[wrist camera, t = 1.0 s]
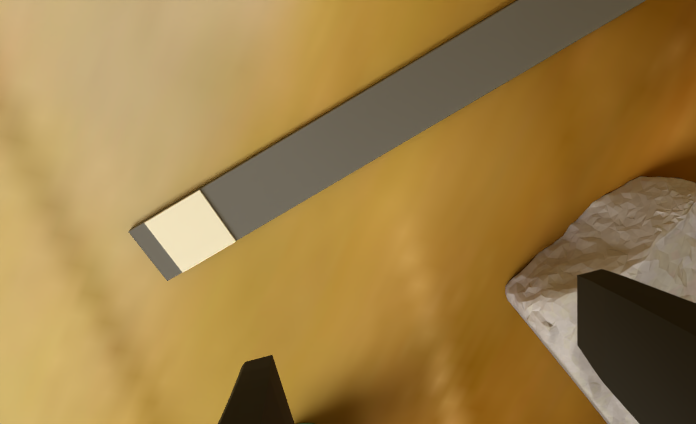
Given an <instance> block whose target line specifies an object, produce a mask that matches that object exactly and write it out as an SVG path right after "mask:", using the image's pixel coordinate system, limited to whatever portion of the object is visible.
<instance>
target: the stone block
mask: <svg viewBox="0 0 696 424" xmlns="http://www.w3.org/2000/svg"><path fill="white" fill-rule="evenodd" d="M599 269H604V270H607V271H611V272H614V273H616V274H619V275H622V276H625V277H628V278H630V279H633V280H636V281H638V282H641V283H644V284H646V285H649V286H652V287H654V288H657V289H659V290H662V291H665V292H667V293H670V294H673V295H675V296H678V297H681V298H683V299H686V300H689V301H691V302H694V303H696V183H694V182H691V181H687V180H684V179H681V178H672V177H671V178H667V177H659V176H658V177H643V176H640V177H638V178H636V179H633V180H631V181H629V182H628V183H626V184H625V185H624V186H622V187H620V188H618V189H616V190H614V191H612V192H611V193H608V194H606V195H604V196H602V197H601V198H600V199H598V200H596V201H594V202H593V203H592V204H591V205H590V206H589V207H588V209H587V210H586V211H585V212H584V213H583V214H582V215H581V216H580V217H579V218H578V219H577V220H576V221H575V222H574V223H572V224H571V225H570V226H569V228H568V229H567V231H566V232H565V234H564V235H563V236H562V237H561V238H560V239H558V240H557V241H556V242H554V243H553V244H552V245H551V246H549V247H547V248H545V249H544V250H543V251H541V252H540V253H538V254H537V255H536V256H535V257H534V259H533V260H532V261H531V262H530V263H529V264H528V265H527V266H526V267H525V268H524V269H523V270H522V271H521V272H520V273H519V274H518V275H516V276H515V277H514V278H512V279H511V280H510V281H509V282H508V283H507V285H506V296H507V299H508V301H509V302H510V303H511V304H512V305H513V307H514V308H515V309H516V310H517V312H518V313H519V314H520V316H521V317H522V318H523V319H524V320H525V322H526V323H527V324H528V325H529V327H530V328H531V329H532V330H533V331H534V332H535V334H536V335H537V336H538V337H539V339H540V340H541V341H542V343H543V344H544V345H545V346H546V348H547V349H548V350H549V351H550V352H551V354H552V355H553V356H554V357H555V359H556V360H557V361H558V362H559V364H560V365H561V366H562V367H563V368H564V370H565V371H566V372H567V373H568V375H569V376H570V377H571V378H572V380H573V381H574V382H575V383H576V385H577V386H578V387H579V388H580V389H581V391H582V392H583V393H584V394H585V396H586V397H587V398H588V399H589V401H590V402H591V403H592V405H593V406H594V407H595V408H596V410H597V411H598V412H599V413H600V415H601V416H602V417H603V419H604V420H605V421H606V422H607V424H639V423H638V422H637V420H636V419H635V418H634V417H633V416H632V415H631V414H630V413H629V412H628V410H627V409H626V408H625V407H624V406H623V405H622V404H621V403H620V401H619V400H618V399H617V398H616V397H615V396H614V395H613V393H612V392H611V391H610V390H609V389H608V388H607V387H606V385H605V384H604V383H603V382H602V380H601V379H600V378H599V376H598V375H597V373H596V372H595V371H594V369H593V368H592V366H591V365H590V363H589V362H588V360H587V359H586V357H585V356H584V354H583V353H582V351H581V350H580V348H579V347H578V345H577V275H580V274H584V273H588V272H592V271H595V270H599Z"/></svg>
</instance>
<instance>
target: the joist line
mask: <svg viewBox="0 0 696 424" xmlns="http://www.w3.org/2000/svg"><path fill="white" fill-rule="evenodd" d="M644 1H645V0H516V1H514V2H513V3H511V4H509V5H508V6H506V7H504V8H503V9H501V10H499V11H498V12H496V13H494V14H492V15H491V16H489V17H487V18H486V19H484V20H482V21H481V22H479V23H477V24H476V25H474V26H472V27H471V28H469V29H467V30H465V31H464V32H462V33H460V34H459V35H457V36H455V37H454V38H452V39H450V40H449V41H447V42H445V43H444V44H442V45H440V46H439V47H437V48H435V49H433V50H432V51H430V52H428V53H427V54H425V55H423V56H422V57H420V58H418V59H417V60H415V61H413V62H412V63H410V64H408V65H406V66H405V67H403V68H401V69H400V70H398V71H396V72H395V73H393V74H391V75H390V76H388V77H386V78H385V79H383V80H381V81H380V82H378V83H376V84H374V85H373V86H371V87H369V88H368V89H366V90H364V91H363V92H361V93H359V94H358V95H356V96H354V97H353V98H351V99H349V100H348V101H346V102H344V103H342V104H341V105H339V106H337V107H336V108H334V109H332V110H331V111H329V112H327V113H326V114H324V115H322V116H321V117H319V118H317V119H315V120H314V121H312V122H310V123H309V124H307V125H305V126H304V127H302V128H300V129H299V130H297V131H295V132H294V133H292V134H290V135H289V136H287V137H285V138H283V139H282V140H280V141H278V142H277V143H275V144H273V145H272V146H270V147H268V148H267V149H265V150H263V151H262V152H260V153H258V154H256V155H255V156H253V157H251V158H250V159H248V160H246V161H245V162H243V163H241V164H240V165H238V166H236V167H235V168H233V169H231V170H230V171H228V172H226V173H224V174H223V175H221V176H219V177H218V178H216V179H214V180H213V181H211V182H209V183H208V184H206V185H204V186H203V187H201V188H199V189H197V190H196V191H194V192H192V193H191V194H189V195H187V196H186V197H184V198H182V199H181V200H179V201H177V202H176V203H174V204H172V205H171V206H169V207H167V208H165V209H164V210H162V211H160V212H159V213H157V214H155V215H154V216H152V217H150V218H149V219H147V220H145V221H144V222H142V223H140V224H139V225H137V226H135V227H133V228H132V229H130V230H129V233H130V234H131V236H132V237H133V238H134V240H135V241H136V242H137V243H138V245H139V246H140V247H141V248H142V250H143V251H144V252H145V253H146V255H147V256H148V257H149V258H150V260H151V261H152V262H153V264H154V265H155V266H156V267H157V269H158V270H159V271H160V272H161V274H162V275H163V276H164V277H165V279H166V280H167V281H168V280H170V279H172V278H173V277H175V276H177V275H179V274H180V273H183V272H185V271H187V270H188V269H190V268H192V267H193V266H195V265H197V264H199V263H200V262H202V261H204V260H205V259H207V258H209V257H211V256H212V255H214V254H216V253H217V252H219V251H221V250H222V249H224V248H226V247H228V246H229V245H231V244H233V243H234V242H236V240H238V239H240V238H242V237H243V236H245V235H247V234H248V233H250V232H252V231H254V230H255V229H257V228H259V227H260V226H262V225H264V224H265V223H267V222H269V221H271V220H272V219H274V218H276V217H277V216H279V215H281V214H282V213H284V212H286V211H288V210H289V209H291V208H293V207H294V206H296V205H298V204H300V203H301V202H303V201H305V200H306V199H308V198H310V197H311V196H313V195H315V194H317V193H318V192H320V191H322V190H323V189H325V188H327V187H328V186H330V185H332V184H334V183H335V182H337V181H339V180H340V179H342V178H344V177H346V176H347V175H349V174H351V173H352V172H354V171H356V170H357V169H359V168H361V167H363V166H364V165H366V164H368V163H369V162H371V161H373V160H375V159H376V158H378V157H380V156H381V155H383V154H385V153H386V152H388V151H390V150H392V149H393V148H395V147H397V146H398V145H400V144H402V143H403V142H405V141H407V140H409V139H410V138H412V137H414V136H415V135H417V134H419V133H421V132H422V131H424V130H426V129H427V128H429V127H431V126H432V125H434V124H436V123H438V122H439V121H441V120H443V119H444V118H446V117H448V116H449V115H451V114H453V113H455V112H456V111H458V110H460V109H461V108H463V107H465V106H467V105H468V104H470V103H472V102H473V101H475V100H477V99H478V98H480V97H482V96H484V95H485V94H487V93H489V92H490V91H492V90H494V89H496V88H497V87H499V86H501V85H502V84H504V83H506V82H507V81H509V80H511V79H513V78H514V77H516V76H518V75H519V74H521V73H523V72H524V71H526V70H528V69H530V68H531V67H533V66H535V65H536V64H538V63H540V62H542V61H543V60H545V59H547V58H548V57H550V56H552V55H553V54H555V53H557V52H559V51H560V50H562V49H564V48H565V47H567V46H569V45H570V44H572V43H574V42H576V41H577V40H579V39H581V38H582V37H584V36H586V35H588V34H589V33H591V32H593V31H594V30H596V29H598V28H599V27H601V26H603V25H605V24H606V23H608V22H610V21H611V20H613V19H615V18H617V17H618V16H620V15H622V14H623V13H625V12H627V11H628V10H630V9H632V8H634V7H635V6H637V5H639V4H640V3H642V2H644Z"/></svg>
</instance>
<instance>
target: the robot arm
mask: <svg viewBox="0 0 696 424" xmlns="http://www.w3.org/2000/svg"><path fill="white" fill-rule="evenodd" d="M577 345H578V347H579V348H580V350H581V351H582V353H583V354H584V356H585V357H586V359H587V360H588V362H589V363H590V365H591V366H592V368H593V369H594V371H595V372H596V373H597V375H598V376H599V378H600V379H601V380H602V382H603V383H604V384H605V385H606V387H607V388H608V389H609V390H610V391H611V392H612V393H613V395H614V396H615V397H616V398H617V399H618V400H619V401H620V403H621V404H622V405H623V406H624V407H625V408H626V409H627V410H628V412H629V413H630V414H631V415H632V416H633V417H634V418H635V419H636V420H637V422H638V423H639V424H696V303H694V302H691V301H689V300H686V299H683V298H681V297H678V296H675V295H673V294H670V293H667V292H665V291H662V290H659V289H657V288H654V287H652V286H649V285H646V284H644V283H641V282H638V281H636V280H633V279H630V278H628V277H625V276H622V275H619V274H616V273H614V272H611V271H607V270H604V269H599V270H595V271H592V272H588V273H584V274H580V275H577ZM218 424H294V421H293V418H292V415H291V412H290V409H289V406H288V403H287V399H286V396H285V393H284V390H283V387H282V384H281V381H280V378H279V375H278V372H277V368H276V365H275V362H274V359H273V356H272V355H270V356H266V357H263V358H259V359H255V360H251V361H247V362H245V363H244V365H243V366H242V368H241V370H240V373H239V376H238V378H237V381H236V383H235V386H234V388H233V391H232V393H231V396H230V398H229V400H228V403H227V405H226V407H225V409H224V412H223V414H222V416H221V418H220V420H219V422H218Z"/></svg>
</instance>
